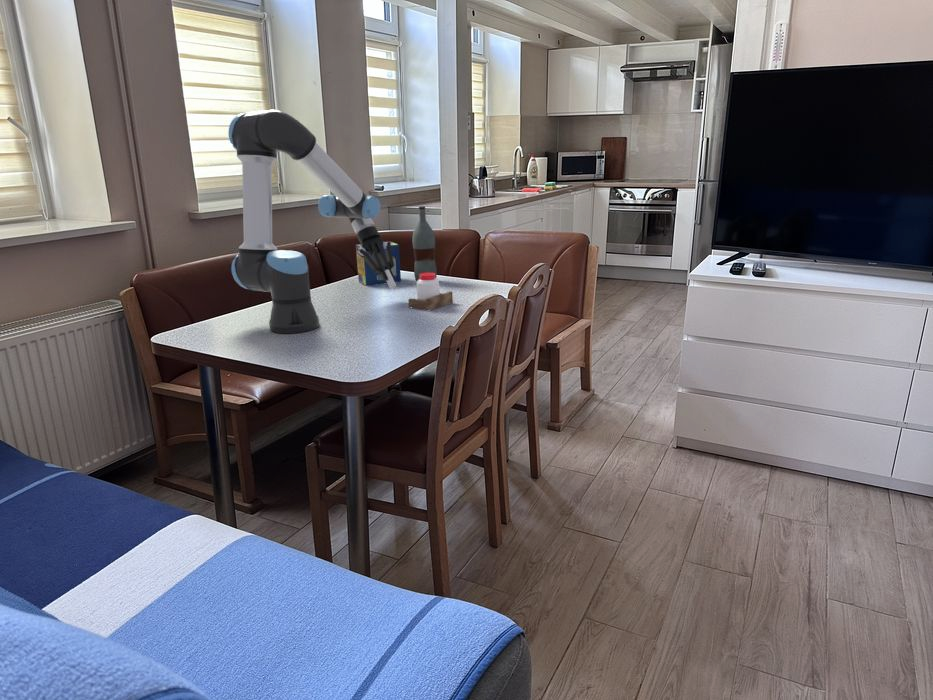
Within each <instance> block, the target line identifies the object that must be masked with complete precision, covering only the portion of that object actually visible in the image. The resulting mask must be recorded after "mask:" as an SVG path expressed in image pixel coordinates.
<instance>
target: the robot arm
mask: <svg viewBox="0 0 933 700" xmlns="http://www.w3.org/2000/svg"><path fill="white" fill-rule="evenodd" d="M228 139H229V142H230V144H232V148H234V149H235V151H236V157H237V159H238V160H239V161H240V162H241V164H242V215H243V217H242V218H243V225H242V226H243V242H242V244H241V245H239V246H238V254H237V255H235V257H234V259H233V260H232V262H231V274H232V276H233V279H234V281H235V282H236V283H237V285H239V286H240V287H241V288H243V289H246V290H250V291H253V292H267V293H270V294H271V302H272V307H271V312H270V318H269V322H268V325H269V330H271V332H272V331H274V332H273V333H275V332H277V334H297V333H303V332H308V331H312V330H315V329H317V328H318V327H319V326H320V324H321V323H320V319H319V316H318V314H317V312H316V309H315V306H314V305H313V302H312V296H311V285H310V273H309V265H308V262H307V258H306V256H305V254H304V253H301V252H299V251H295V250H285V249H279V250H278V248H277V246H276V245H275V244H274V243H273V192H272V191H273V189H272V186H273V185H272V182H273V179H272V178H273V175H272V174H273V173H272V172H273V171H272V169H273V167H272V165H273V163H275V162H276V161H277V160H278V159H277V152H279V153H284V154H286V155H288V156H289V157H290V158H291V159H292V160H293V161H299V162H300V163H301V164H302V165H303V166H304V167H305V168H306V170H308V171H309V172H310V173H311V174H312V175H313V176H314V177H315V178H317V179H318V181H319V182H320V183H322V184H323V185H324V186H325V187H326V188H327V190H329V191H330V192H331V193H332V194H324V195H321V197H320V198H319V199H318V203H317V204H318V205H317V206H318V207H317V209H318V212H319V213H320V214H321V216H323V217H326V218H342V219H343V218H345V219H347V218H348V221H349V222H350V224H351V227H352V229H353V231H354V233H355V234H356V237H357V239H358V241H359V243H360V244H361V245H362V246H361V247H362V249H360V251H359V252H358V255H360V256H361V257H362V258H363V259H364V260H365V261H366V263H367V264H368V265H369V266H370V268H371V269H372V270H373V272H374V273H379V275H381V276H382V278H383V280H384V281H386V282H387V283H386V285H387V286H388V288H389V289H390V290H394V289H395V288H396V287H397V283H396V282H394V280H393V278H394V275H393V273H392V271H391V269H392V268H393V266H394V262H393V258H392V254H391V249H390V245H391V243H390V242H388V241H384V239H382V238H381V236H380V233H379V232H378V229H377V227H376V226H375V223H374V221H373V219H375V218H376V217H378V216H379V213H380V212H381V202H380V200H379V199H378V197H376V196H374V195H370V194H369V195H367V194H366V193H365V192H364V191H363V190H362V189H361V188H360V187H359V186H358V185H357V184H356V183H355V182H354V181H353V180H352V179H351V178H350V176H349V175H348V174H346V172H345V171H344V170H343V169H342V168H341V167H340V166H339V165H338V164H337V163H336V162H335V160H333V158H331V157H330V155H328V153H327V152H326V151H324V149H323V148H322V147H321V146H320V145H319V144H318V143H317V138H316V136H315V135H314V134H313V132H311V131H310V130H309V129H308V127H307V126H305V125H304V124H303V123H302V122H300V120H297V119H296V118H295V117H294V116H292V115H290V114H288V113H286V112H284V111H282V110H278V109H269V110H257V111H255V110H254V111H252V110H251V111H245V112H243V113H239V114H237V115H236V116H235V117H234V118H233V119H232V120H231V122H230V124H229V126H228ZM386 242H388V243H386ZM383 246H384V249H385V253H386V257H385V255H384V253H383V249H382V247H383ZM366 252H368V253H369V254H370V256H371V257H370V256H369V255H368V254H367V253H366ZM371 258H372V259H373V260H372V259H371ZM386 258H387V259H386ZM384 269H385V271H384Z"/></svg>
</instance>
